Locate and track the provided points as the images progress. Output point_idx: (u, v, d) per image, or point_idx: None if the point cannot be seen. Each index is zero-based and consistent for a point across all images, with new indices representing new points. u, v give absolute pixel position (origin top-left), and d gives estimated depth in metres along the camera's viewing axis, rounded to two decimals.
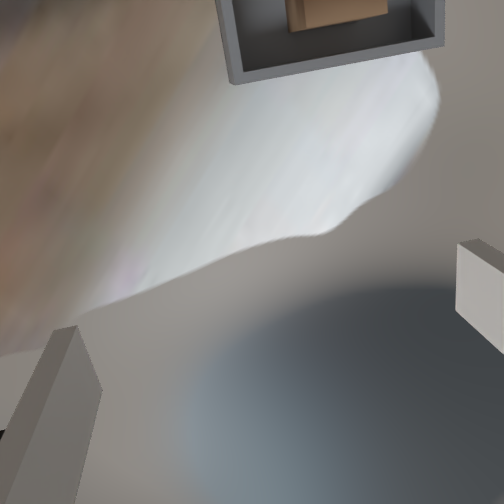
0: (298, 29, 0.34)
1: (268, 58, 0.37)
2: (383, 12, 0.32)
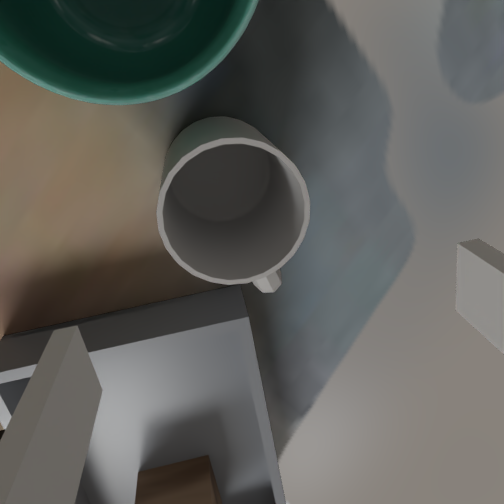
0: None
1: None
2: None
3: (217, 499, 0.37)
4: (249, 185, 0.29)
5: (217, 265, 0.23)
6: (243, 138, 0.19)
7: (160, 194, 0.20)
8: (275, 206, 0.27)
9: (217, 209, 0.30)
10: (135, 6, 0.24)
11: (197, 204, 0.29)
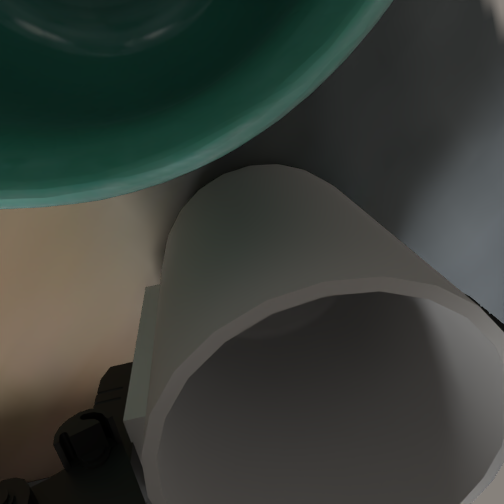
0: None
1: None
2: None
3: None
4: None
5: (277, 502, 0.11)
6: (384, 277, 0.07)
7: (151, 420, 0.07)
8: (373, 335, 0.14)
9: None
10: None
11: None
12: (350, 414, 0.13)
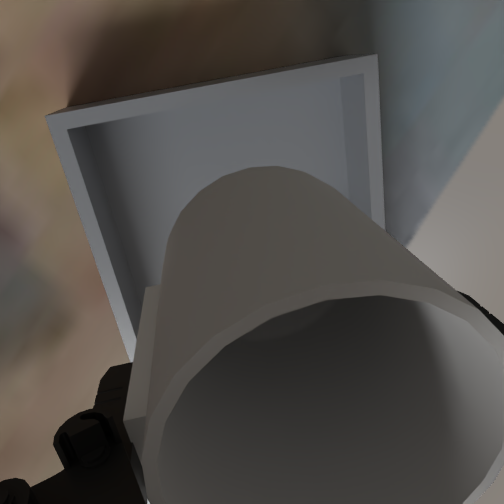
0: None
1: None
2: None
3: None
4: None
5: None
6: (384, 281, 0.07)
7: (152, 424, 0.07)
8: (373, 337, 0.14)
9: None
10: None
11: None
12: (350, 416, 0.13)
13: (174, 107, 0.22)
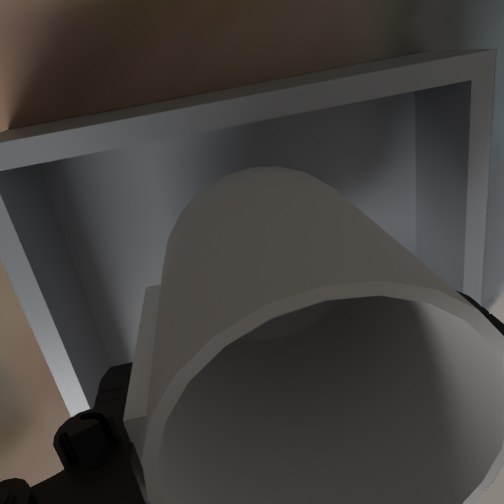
0: None
1: None
2: None
3: None
4: None
5: None
6: (384, 282, 0.07)
7: (152, 424, 0.07)
8: (373, 337, 0.14)
9: None
10: None
11: None
12: (350, 416, 0.13)
13: (168, 136, 0.14)
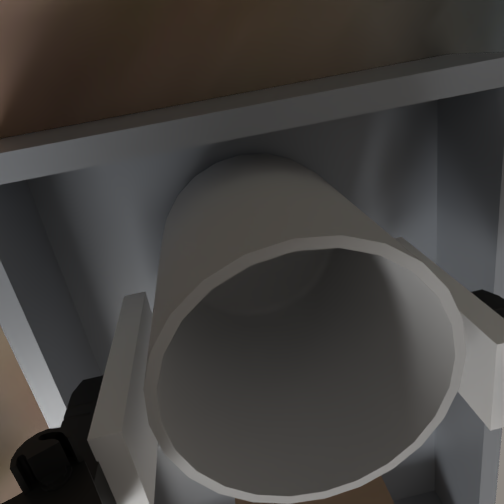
0: None
1: None
2: None
3: None
4: (300, 260, 0.18)
5: (262, 445, 0.12)
6: (342, 236, 0.08)
7: (151, 356, 0.09)
8: (351, 307, 0.16)
9: (248, 296, 0.19)
10: None
11: (216, 290, 0.18)
12: (329, 376, 0.14)
13: (169, 149, 0.12)
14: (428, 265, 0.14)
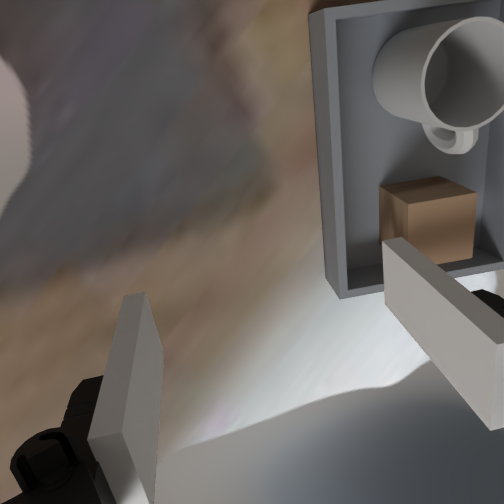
0: None
1: (360, 262, 0.45)
2: (468, 257, 0.39)
3: None
4: (430, 86, 0.38)
5: None
6: (489, 17, 0.29)
7: (428, 55, 0.29)
8: (461, 94, 0.36)
9: None
10: None
11: None
12: (455, 115, 0.35)
13: (407, 8, 0.32)
14: (428, 265, 0.14)
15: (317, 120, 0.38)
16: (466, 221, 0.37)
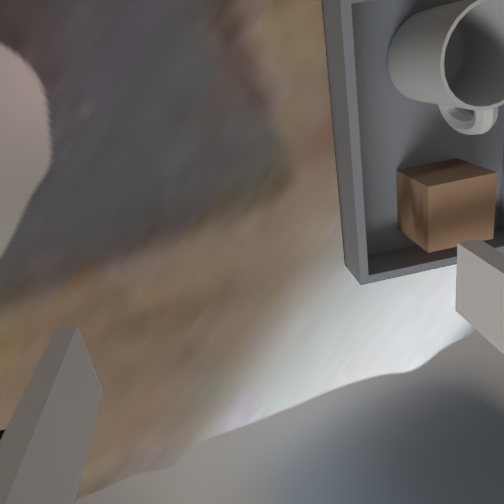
0: (415, 242, 0.41)
1: (379, 248, 0.45)
2: (489, 238, 0.39)
3: None
4: (445, 67, 0.38)
5: None
6: None
7: (447, 34, 0.29)
8: (478, 74, 0.36)
9: None
10: None
11: None
12: (473, 95, 0.34)
13: None
14: None
15: (333, 106, 0.38)
16: (487, 202, 0.37)
